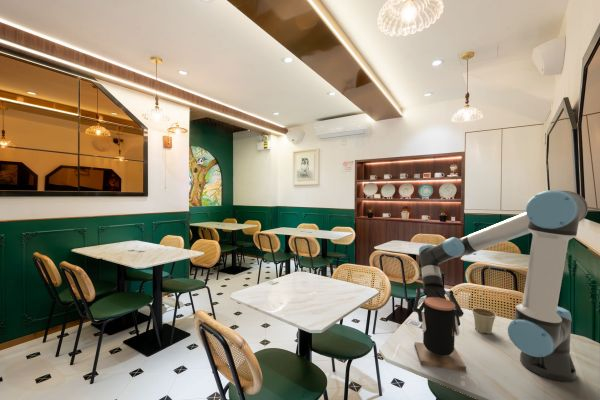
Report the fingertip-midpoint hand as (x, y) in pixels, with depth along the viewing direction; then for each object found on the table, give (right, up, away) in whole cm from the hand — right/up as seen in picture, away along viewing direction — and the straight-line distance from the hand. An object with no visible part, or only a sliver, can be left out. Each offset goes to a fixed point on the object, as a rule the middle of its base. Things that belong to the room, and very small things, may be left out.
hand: (440, 332), depth 102 cm
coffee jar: (+1, -8, +3) cm, 8 cm away
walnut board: (+1, -11, +3) cm, 11 cm away
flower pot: (+32, -11, +24) cm, 42 cm away
